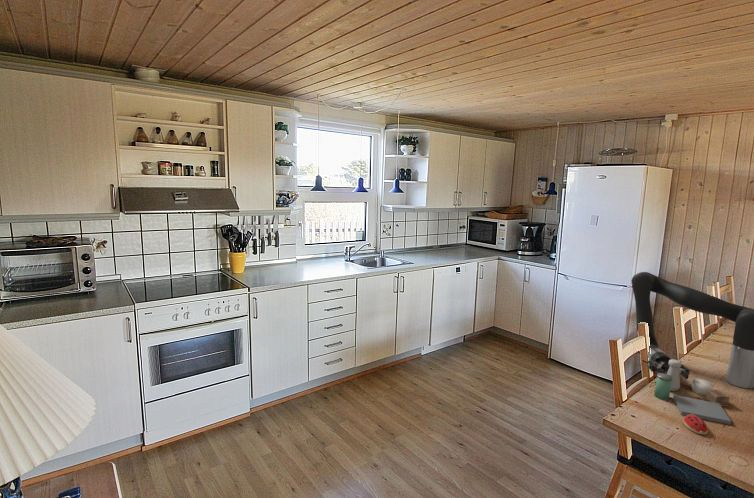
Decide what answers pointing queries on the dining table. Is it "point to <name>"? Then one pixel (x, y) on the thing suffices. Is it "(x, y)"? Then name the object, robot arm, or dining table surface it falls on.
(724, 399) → the brown wooden block
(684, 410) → the cutting board
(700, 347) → the dining table surface
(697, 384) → the white dome
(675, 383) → the salt shaker
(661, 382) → the dark green jar
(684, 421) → the ladybug figurine
